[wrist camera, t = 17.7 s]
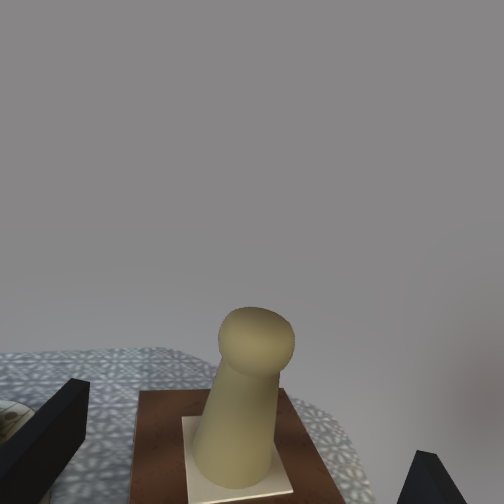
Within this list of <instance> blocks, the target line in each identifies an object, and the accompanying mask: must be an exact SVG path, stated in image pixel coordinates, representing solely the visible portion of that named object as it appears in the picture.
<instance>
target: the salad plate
mask: <svg viewBox="0 0 504 504" xmlns="http://www.w3.org/2000/svg"><path fill="white" fill-rule="evenodd" d="M34 414H35V412H34V410H33V409H31V408H30V407H29V406H27V405H24V404H22V403H19V402H14V401H10V400H3V399H0V447H1V446H2V445H3V444H4V443H5V442H6V441H7V440H8V439H9V438H10V437H11V436H12V435H13V434H15V433H16V432H17V431H18V430H19V429H20V428H21V427H22V426H23V425H24V424H25V423H26V422H27V421H28V420H29V419H30V418H31V417H32V416H33V415H34ZM50 497H51V493H50V489H49V490H48V491H47V493H46V494H45V495H44V497H43V498H42V500H41V501H40V502H39V504H50Z"/></svg>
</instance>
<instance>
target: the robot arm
mask: <svg viewBox="0 0 504 504" xmlns="http://www.w3.org/2000/svg"><path fill="white" fill-rule="evenodd" d="M89 390H90V382H88V381H83V380H78V379H74V378H71V379H70V380H69V381H68V382H67V383H66V384H65V385H64V386H63V387H62V388H61V389H60V390H59V391H58V392H57V393H56V394H54V395H53V396H52V397H51V398H50V399H49V400H48V401H47V402H46V403H45V404H44V405H43V406H42V407H41V408H40V409H39V410H38V411H37V412H36V413H35V414H34V415H33V416H32V417H31V418H30V419H29V420H28V421H27V422H26V423H25V424H24V425H23V426H22V427H21V428H20V429H19V430H18V431H17V432H16V433H15V434H13V435H12V436H11V437H10V438H9V439H8V440H7V441H6V442H5V443H4V444H3V445H2V446H1V447H0V504H39V502H40V501H41V500H42V498H43V497H44V495H45V494H46V493H47V491H48V490H49V489H50V487H51V486H52V484H53V483H54V482H55V480H56V479H57V477H58V476H59V475H60V473H61V472H62V471H63V469H64V468H65V466H66V465H67V464H68V462H69V461H70V460H71V458H72V457H73V455H74V454H75V453H76V451H77V450H78V448H79V447H80V446H81V444H82V443H83V442H84V440H85V436H86V424H87V413H88V401H89ZM397 504H467V503H466V501H465V500H464V498H463V496H462V495H461V493H460V492H459V490H458V489H457V487H456V485H455V484H454V482H453V480H452V479H451V477H450V475H449V474H448V472H447V471H446V469H445V467H444V466H443V464H442V463H441V461H440V459H439V458H438V456H437V455H436V454H434V453H429V452H424V451H419V450H417V451H416V454H415V456H414V459H413V462H412V465H411V467H410V470H409V472H408V475H407V478H406V480H405V483H404V486H403V488H402V491H401V493H400V496H399V499H398V502H397Z"/></svg>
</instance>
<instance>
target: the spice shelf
mask: <svg viewBox="0 0 504 504" xmlns="http://www.w3.org/2000/svg"><path fill="white" fill-rule="evenodd" d="M210 391H211V389H199V390H149V391H139V398H138V406H137V413H136V421H135V429H134V439H133V442H134V446H133V456H132V466H131V476H130V486H129V496H128V504H346V503H345V501H344V500H343V498H342V496H341V494H340V492H339V490H338V488H337V487H336V485H335V483H334V481H333V479H332V477H331V475H330V474H329V472H328V470H327V468H326V466H325V464H324V463H323V461H322V459H321V457H320V455H319V453H318V451H317V450H316V448H315V446H314V444H313V442H312V440H311V438H310V437H309V435H308V433H307V431H306V429H305V427H304V426H303V424H302V422H301V420H300V418H299V416H298V414H297V413H296V411H295V409H294V407H293V405H292V403H291V401H290V400H289V398H288V396H287V394H286V392H285V390H284V389H283V388H279V389H278V399H277V410H276V420H275V430H274V441H273V451H272V460H271V468H270V470H269V471H268V473H267V475H266V477H265V478H264V479H263V480H261V481H260V482H259V483H258V484H256V485H255V486H252V487H248V488H245V489H227V488H224V487H221V486H218V485H215V484H214V483H212V482H211V481H209V480H208V479H207V478H205V477H204V476H203V475H202V474H201V472H200V471H199V470H198V468H197V467H196V466H195V462H194V459H193V456H192V443H193V440H194V437H195V434H196V431H197V428H198V425H199V422H200V419H201V417H202V414H203V411H204V408H205V405H206V402H207V399H208V396H209V393H210Z"/></svg>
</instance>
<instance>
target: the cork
mask: <svg viewBox="0 0 504 504" xmlns="http://www.w3.org/2000/svg"><path fill="white" fill-rule="evenodd" d="M218 341H219V351H220V353H221V355H222V359H221V362H220V365H219V368H218V370H217V373H216V376H215V379H214V382H213V385H212V388H211V391H210V393H209V396H208V399H207V402H206V405H205V408H204V411H203V414H202V417H201V419H200V422H199V425H198V428H197V431H196V434H195V437H194V440H193V443H192V456H193V459H194V462H195V466H196V467H197V468H198V470H199V471H200V472H201V474H202V475H203V476H204V477H205V478H207V479H208V480H209V481H211V482H212V483H214V484H215V485H218V486H221V487H224V488H227V489H245V488H248V487H252V486H255V485H256V484H258V483H259V482H260V481H261V480H263V479H264V478H265V477H266V475H267V473H268V471H269V470H270V468H271V460H272V451H273V441H274V430H275V420H276V410H277V399H278V389H279V378H280V371H281V370H283V369H284V368H285V367H286V365H287V364H288V363H289V361H290V359H291V357H292V355H293V351H294V346H295V335H294V332H293V329H292V327H291V325H290V323H289V322H288V321H286V320H285V319H284V318H283V317H282V316H280V315H279V314H277V313H275V312H272V311H270V310H267V309H263V308H257V307H244V308H239V309H235V310H234V311H232V312H230V313H229V314H228V315H227V316H226V317H225V319H224V321H223V322H222V324H221V327H220V330H219V335H218Z"/></svg>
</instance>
